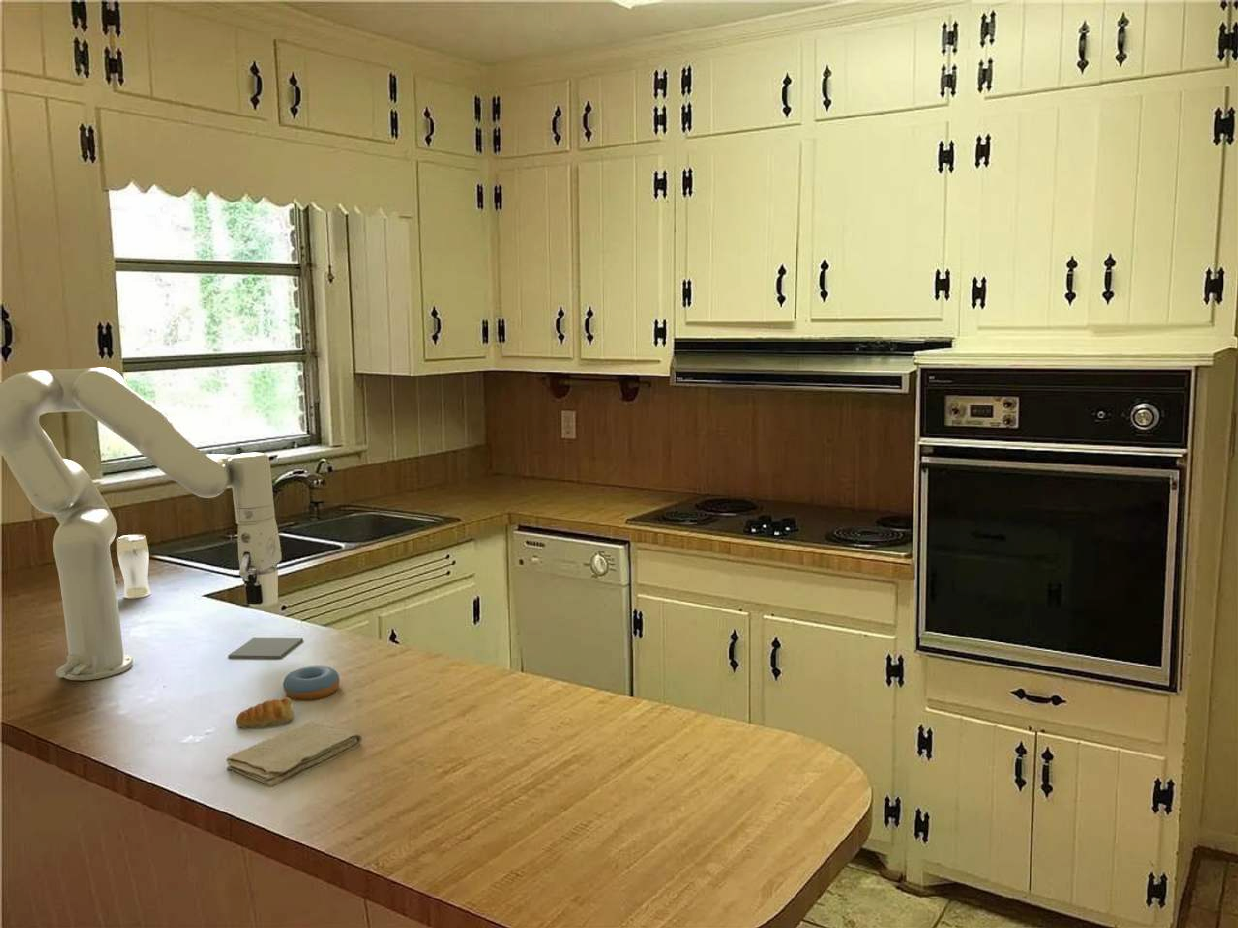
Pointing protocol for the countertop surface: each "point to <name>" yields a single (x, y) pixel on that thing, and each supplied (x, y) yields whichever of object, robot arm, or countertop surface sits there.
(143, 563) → the beer glass
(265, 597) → the white cup
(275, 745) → the washcloth
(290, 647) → the mat
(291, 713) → the pastry
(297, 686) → the doughnut
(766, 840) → the countertop surface
